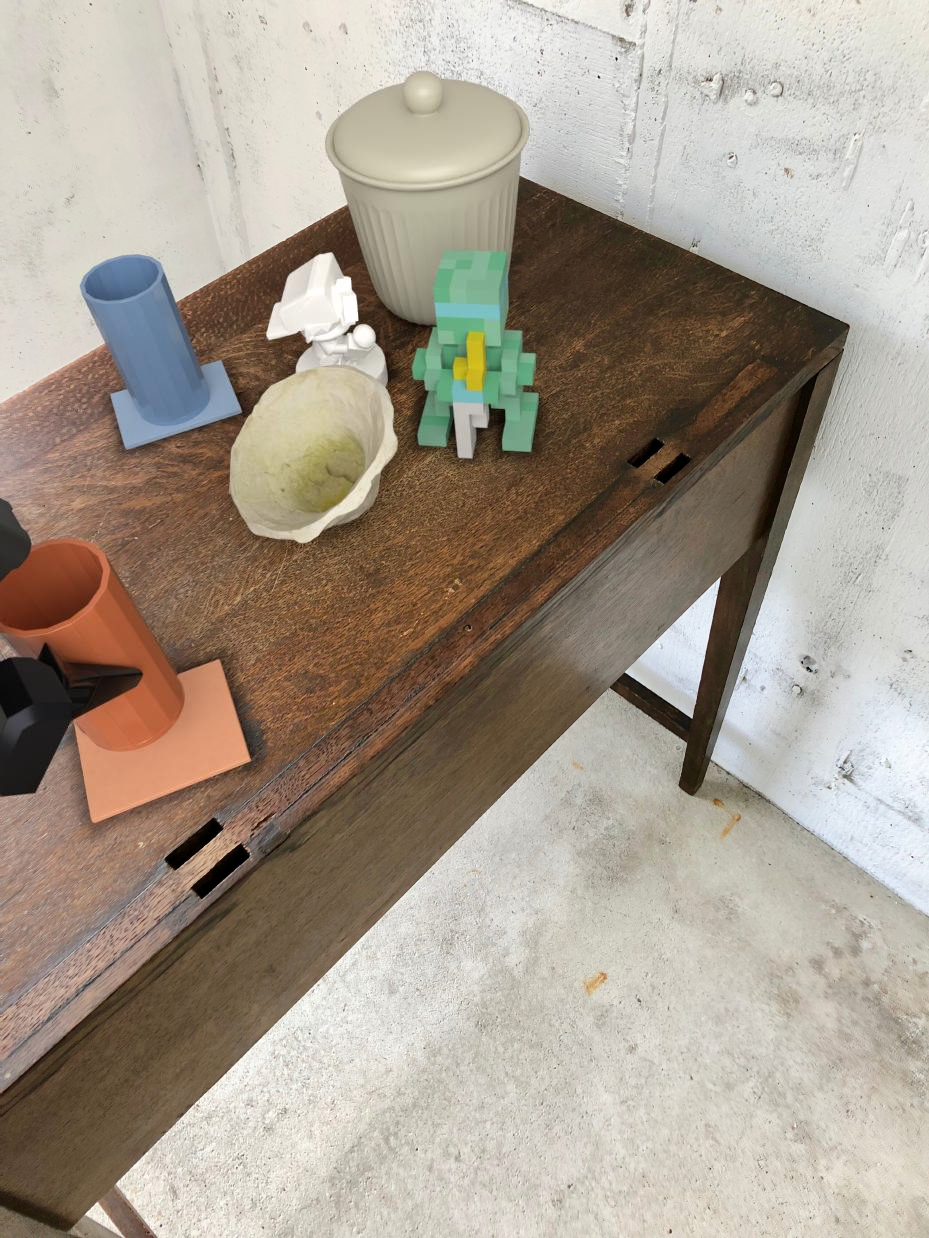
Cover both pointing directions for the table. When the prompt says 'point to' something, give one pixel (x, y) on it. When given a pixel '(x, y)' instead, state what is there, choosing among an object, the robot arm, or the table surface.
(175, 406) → the blue cup
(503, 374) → the toy
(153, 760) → the peach mat
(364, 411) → the bowl
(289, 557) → the table surface
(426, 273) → the canister
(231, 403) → the blue mat
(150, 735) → the terracotta cup
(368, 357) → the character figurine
